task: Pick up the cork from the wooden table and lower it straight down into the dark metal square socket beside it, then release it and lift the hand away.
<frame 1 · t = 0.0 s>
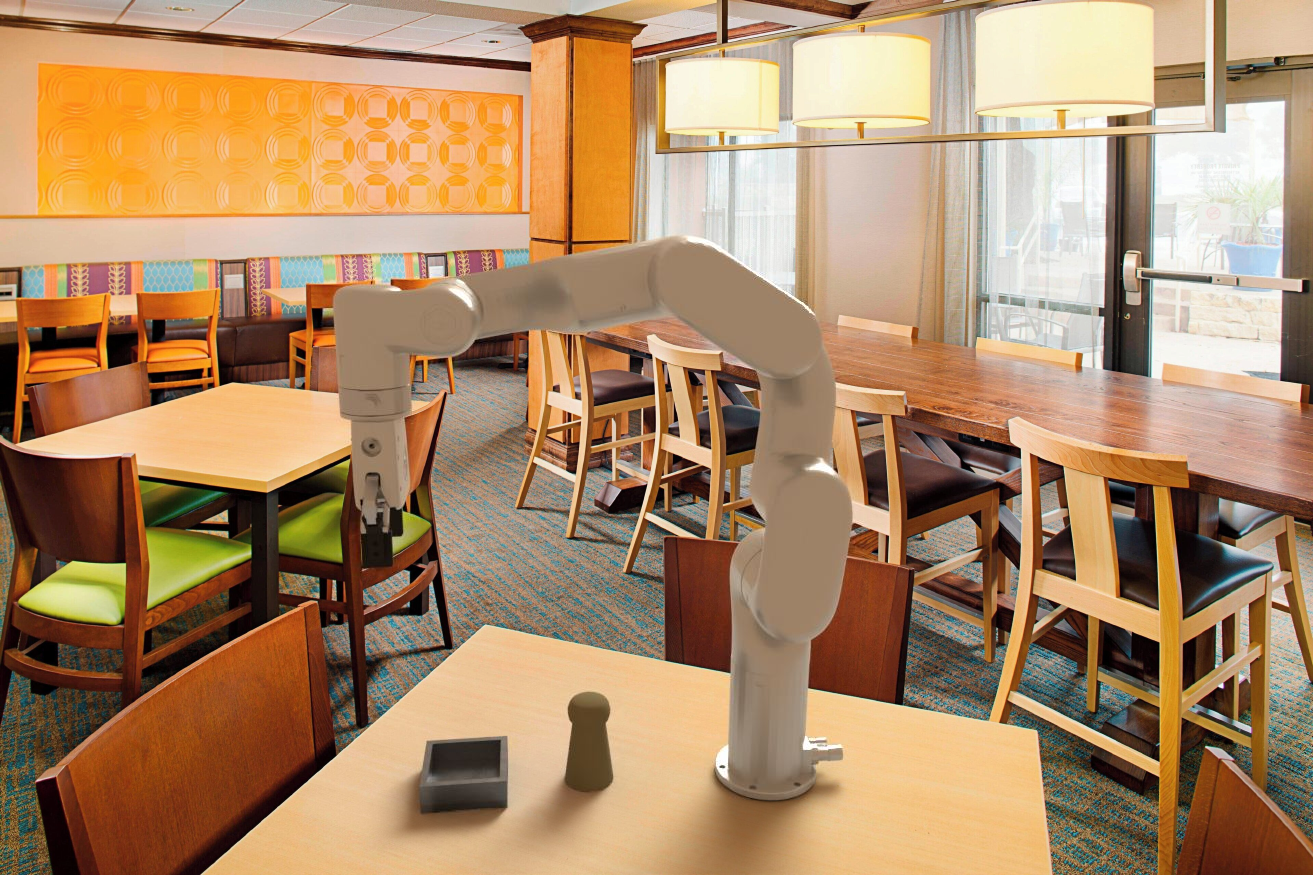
hand: (383, 550, 110), 31 cm above the table, fingers open, 9 cm apart
cork: (589, 778, 122), on the table
socket: (466, 785, 120), on the table
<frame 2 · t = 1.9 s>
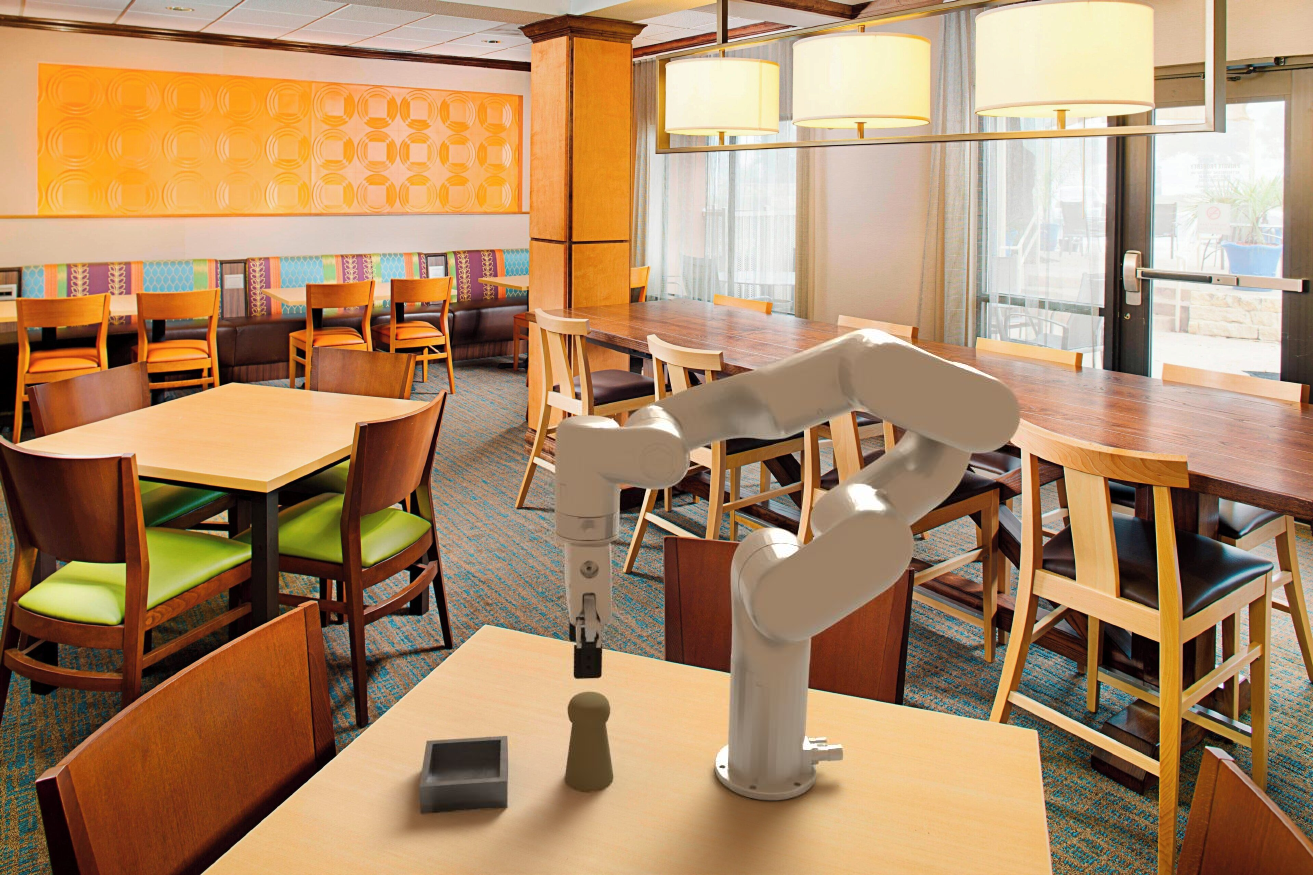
hand: (584, 658, 118), 16 cm above the table, fingers open, 9 cm apart
nothing on the table moved.
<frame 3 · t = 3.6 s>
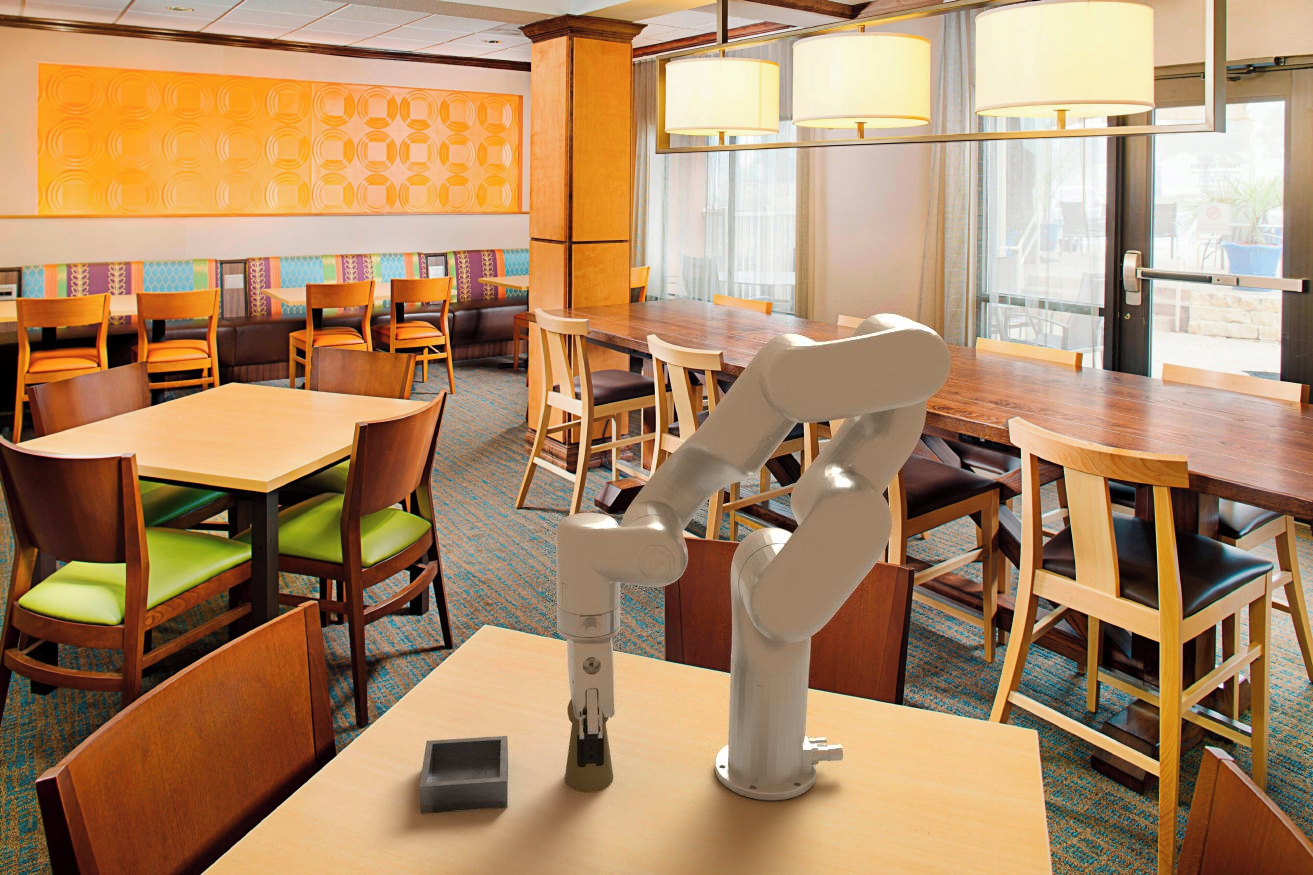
hand: (589, 753, 121), 3 cm above the table, fingers closed on cork, 3 cm apart
cork: (589, 778, 122), on the table, touching gripper
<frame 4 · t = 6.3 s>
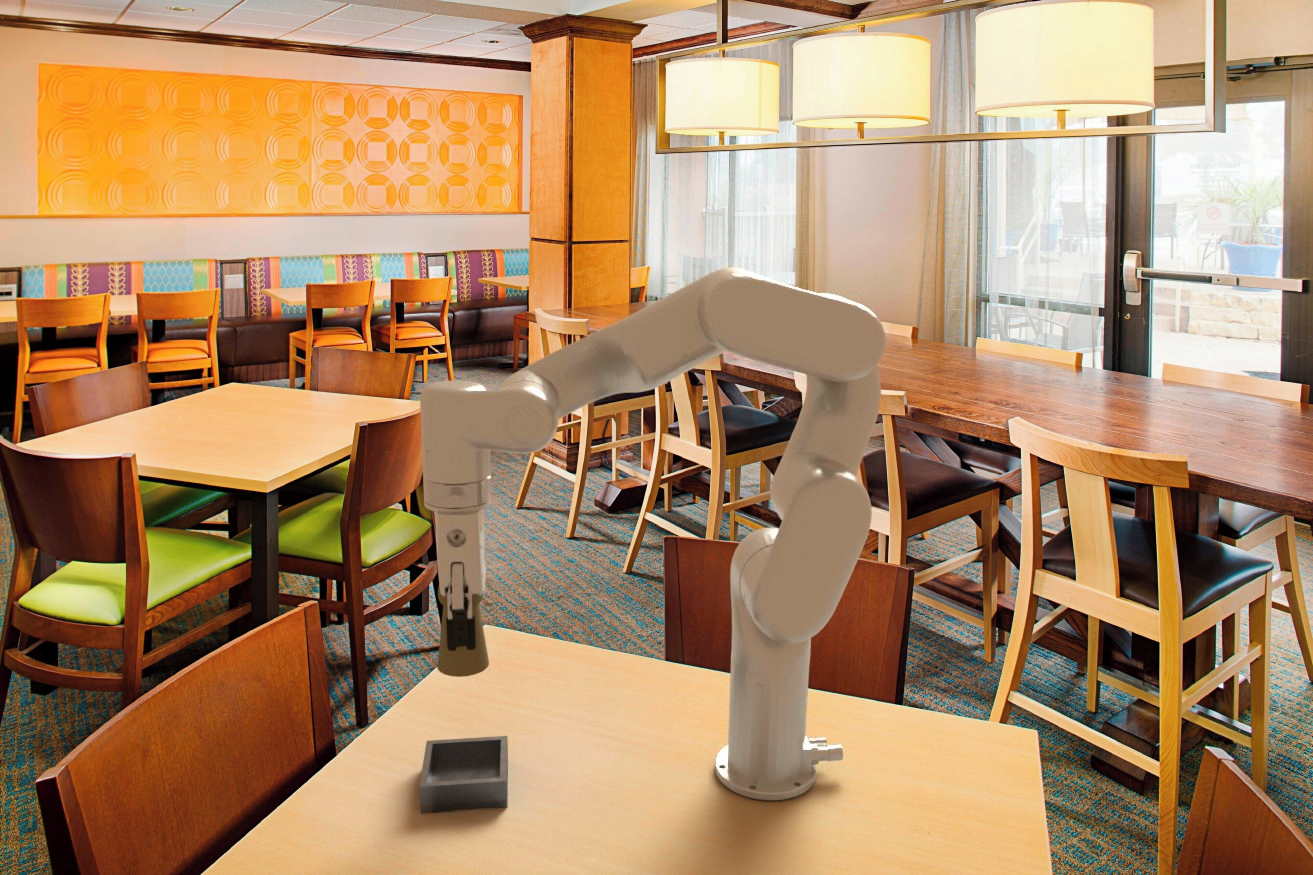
hand: (462, 639, 116), 19 cm above the table, fingers closed on cork, 3 cm apart
cork: (463, 666, 116), point 16 cm above the table, touching gripper
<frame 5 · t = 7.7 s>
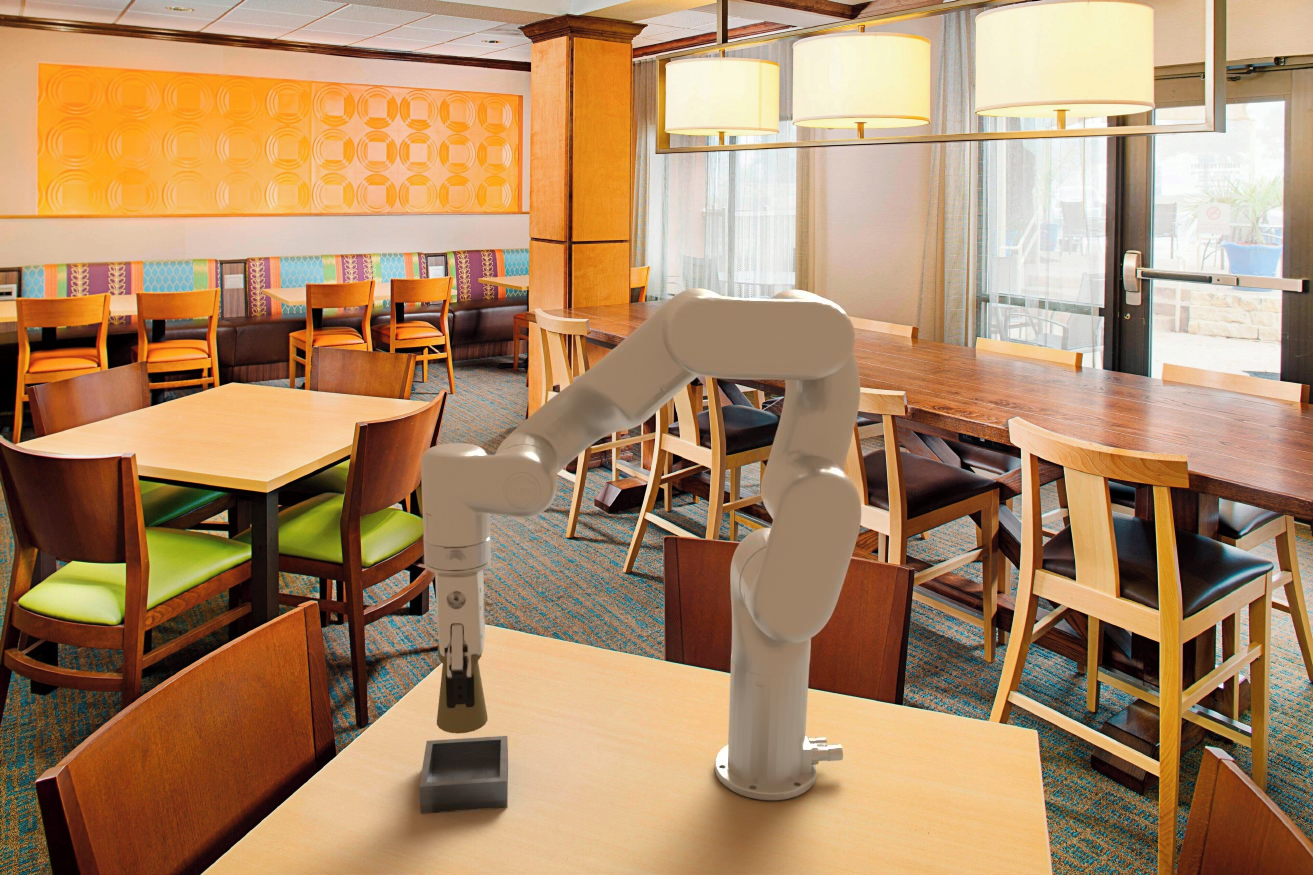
hand: (461, 695, 117), 12 cm above the table, fingers closed on cork, 3 cm apart
cork: (462, 721, 118), point 9 cm above the table, touching gripper
when the fingers open (6 cm above the table, at t = 9.1 s): cork drops 1 cm, resting on socket.
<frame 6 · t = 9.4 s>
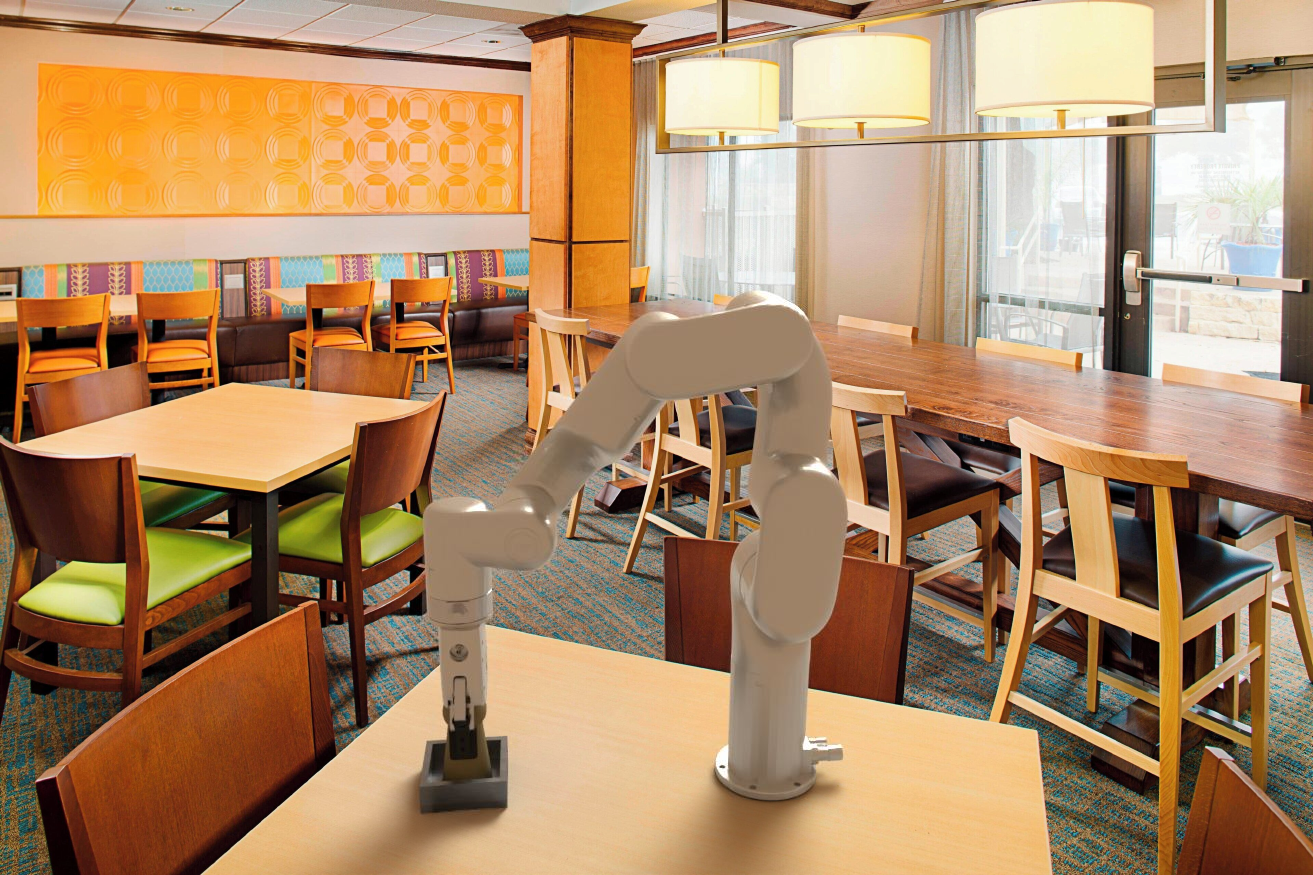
hand: (465, 741, 119), 6 cm above the table, fingers open, 6 cm apart
cork: (467, 779, 120), point 1 cm above the table, touching socket
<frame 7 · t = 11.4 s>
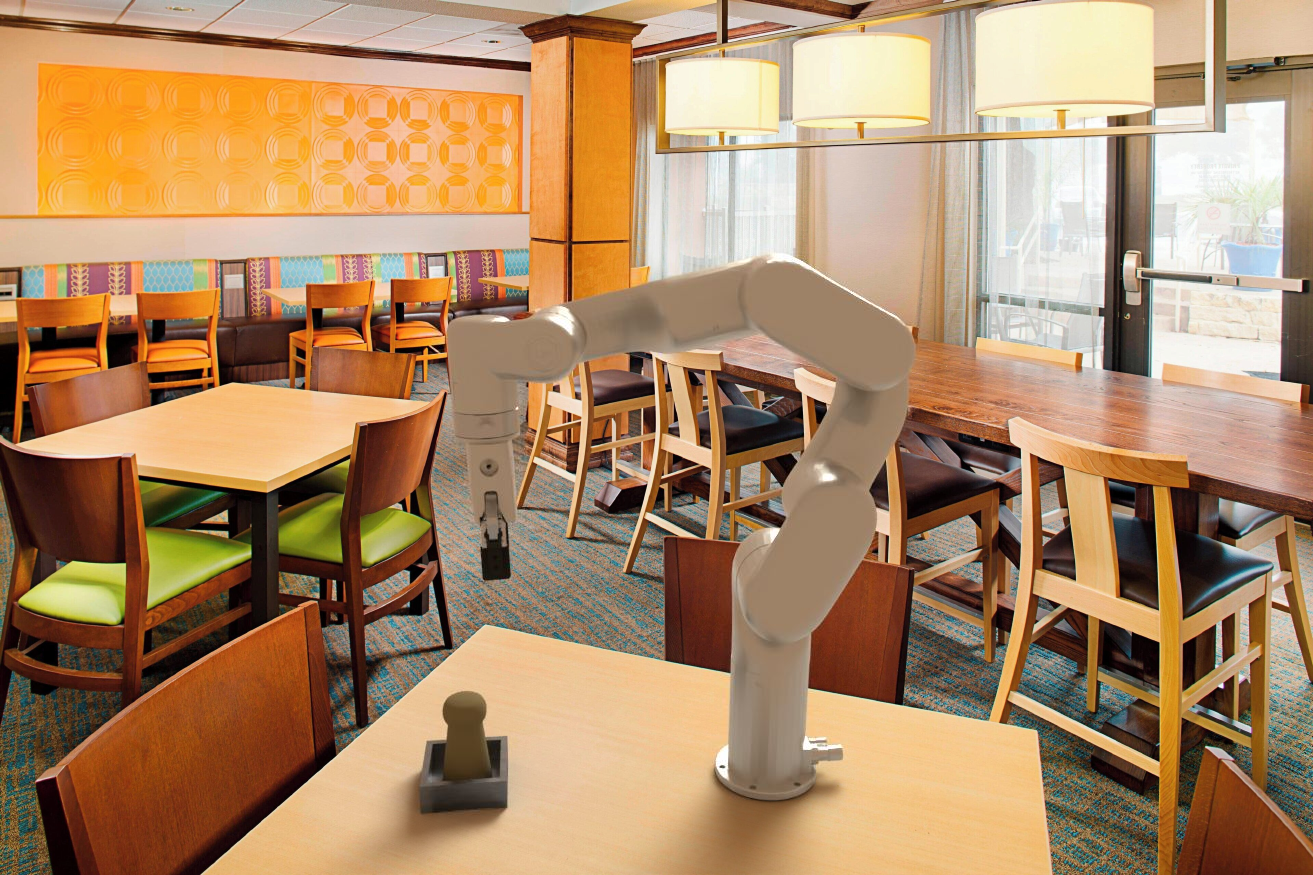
hand: (496, 563, 117), 27 cm above the table, fingers open, 9 cm apart
nothing on the table moved.
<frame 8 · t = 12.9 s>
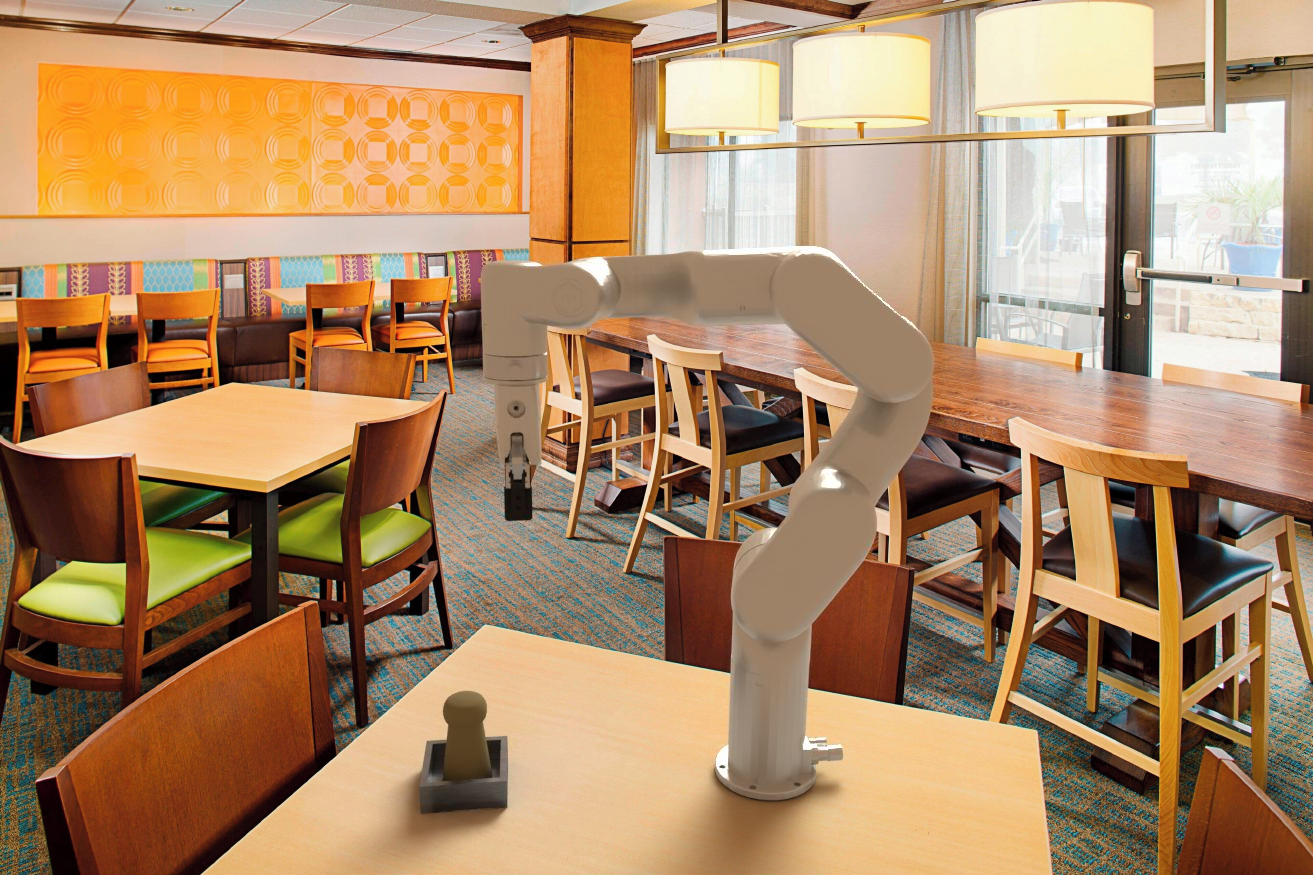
hand: (518, 507, 119), 33 cm above the table, fingers open, 9 cm apart
nothing on the table moved.
at the end: cork 0.2 cm off-centre on the socket, point 0.8 cm above the socket's base; cork tilted 0°; the gripper is holding nothing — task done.
